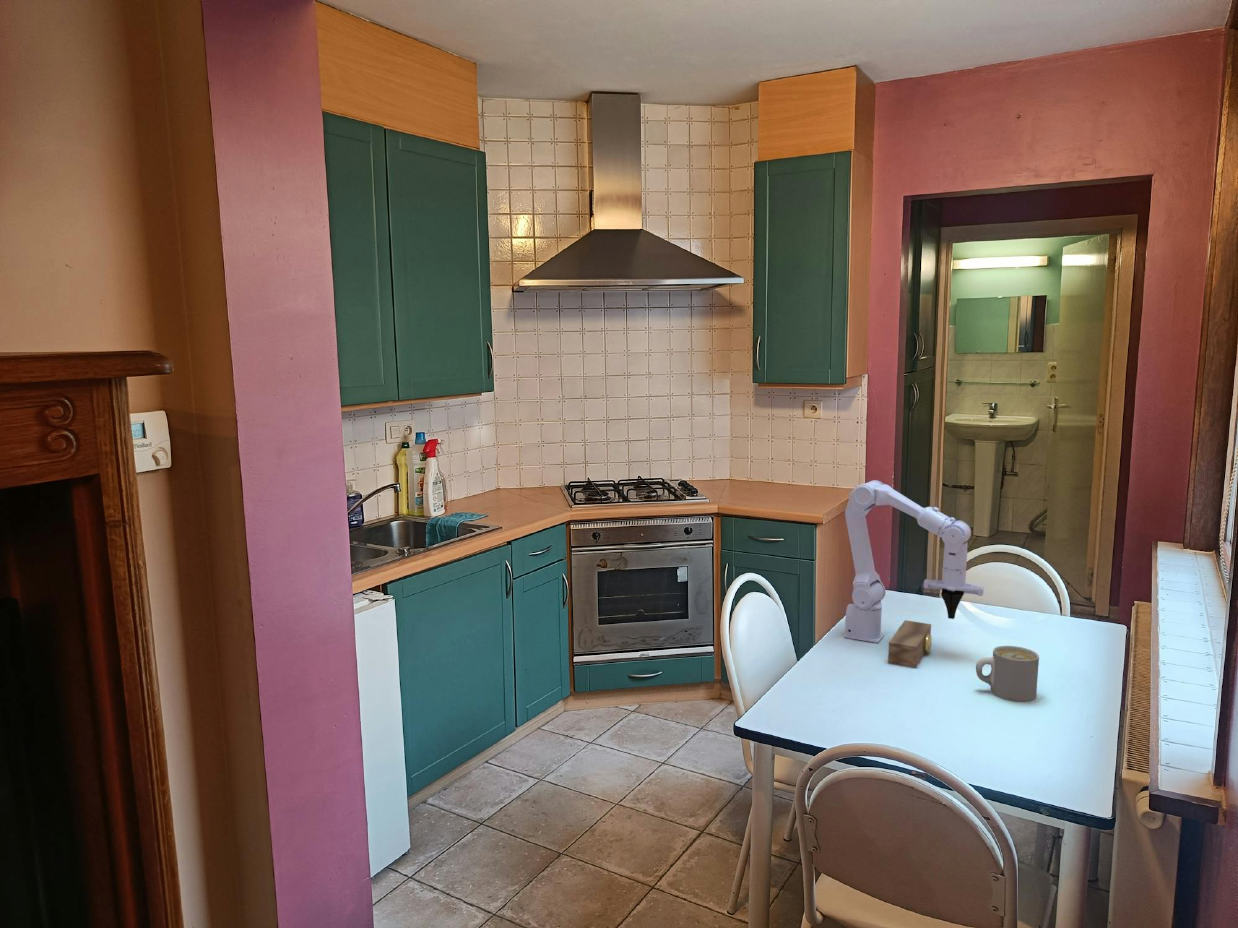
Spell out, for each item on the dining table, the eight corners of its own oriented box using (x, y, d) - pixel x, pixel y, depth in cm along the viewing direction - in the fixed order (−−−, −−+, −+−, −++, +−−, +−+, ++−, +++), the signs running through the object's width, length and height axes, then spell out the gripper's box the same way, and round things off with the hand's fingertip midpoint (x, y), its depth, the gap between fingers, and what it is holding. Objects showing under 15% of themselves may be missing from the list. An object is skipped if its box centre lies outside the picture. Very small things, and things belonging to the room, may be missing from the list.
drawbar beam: (887, 662, 225) (888, 642, 224) (903, 639, 242) (904, 620, 241) (915, 667, 222) (916, 646, 221) (930, 643, 239) (931, 624, 238)
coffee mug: (1035, 688, 209) (1038, 648, 207) (1036, 704, 200) (1039, 663, 198) (975, 679, 214) (977, 641, 213) (974, 695, 205) (976, 654, 204)
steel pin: (892, 649, 234) (892, 631, 233) (895, 643, 238) (896, 626, 237) (927, 655, 229) (928, 637, 229) (931, 649, 233) (931, 632, 233)
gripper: (922, 567, 227) (919, 617, 229) (982, 575, 220) (978, 626, 222) (927, 561, 233) (925, 609, 235) (985, 568, 226) (982, 618, 228)
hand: (951, 617), depth 229 cm, fingers closed
